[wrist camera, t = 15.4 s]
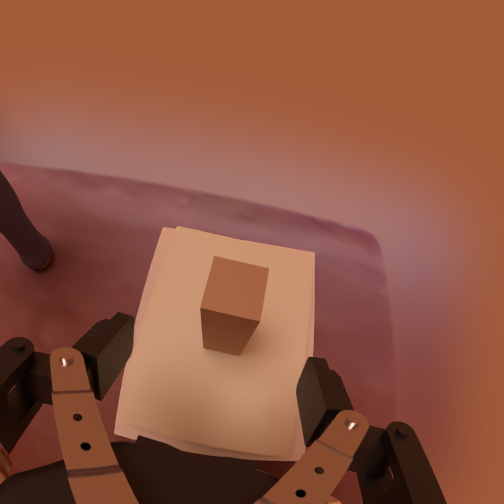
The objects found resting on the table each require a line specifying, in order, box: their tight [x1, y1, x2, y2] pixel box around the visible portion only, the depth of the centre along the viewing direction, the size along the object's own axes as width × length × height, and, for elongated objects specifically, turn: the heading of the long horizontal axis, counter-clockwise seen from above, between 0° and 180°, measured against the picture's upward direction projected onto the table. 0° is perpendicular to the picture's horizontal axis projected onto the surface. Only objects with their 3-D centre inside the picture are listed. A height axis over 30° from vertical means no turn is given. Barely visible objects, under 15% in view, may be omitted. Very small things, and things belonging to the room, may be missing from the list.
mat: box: [114, 227, 315, 461], centre depth 25 cm, size 22×17×1 cm
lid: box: [117, 226, 314, 457], centre depth 20 cm, size 19×14×12 cm
